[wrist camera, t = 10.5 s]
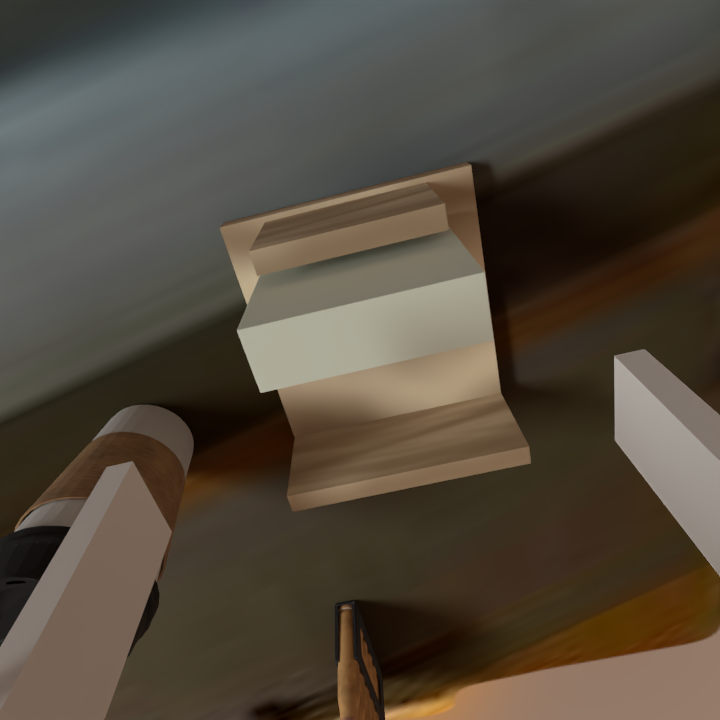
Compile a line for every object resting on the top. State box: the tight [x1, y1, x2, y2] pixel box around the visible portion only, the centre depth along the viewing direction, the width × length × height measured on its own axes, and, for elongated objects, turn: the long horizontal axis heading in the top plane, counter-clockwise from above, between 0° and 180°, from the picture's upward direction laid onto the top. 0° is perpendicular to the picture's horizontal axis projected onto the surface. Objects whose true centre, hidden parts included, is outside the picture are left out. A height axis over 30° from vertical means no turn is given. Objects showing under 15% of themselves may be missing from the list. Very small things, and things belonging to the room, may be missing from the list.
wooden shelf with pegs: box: [220, 162, 531, 512], centre depth 30 cm, size 16×14×7 cm
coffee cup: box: [0, 405, 194, 659], centre depth 30 cm, size 8×8×15 cm
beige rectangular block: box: [237, 226, 494, 393], centre depth 26 cm, size 3×10×10 cm, turn 103°
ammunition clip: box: [335, 601, 385, 720], centre depth 42 cm, size 11×2×12 cm, turn 13°
